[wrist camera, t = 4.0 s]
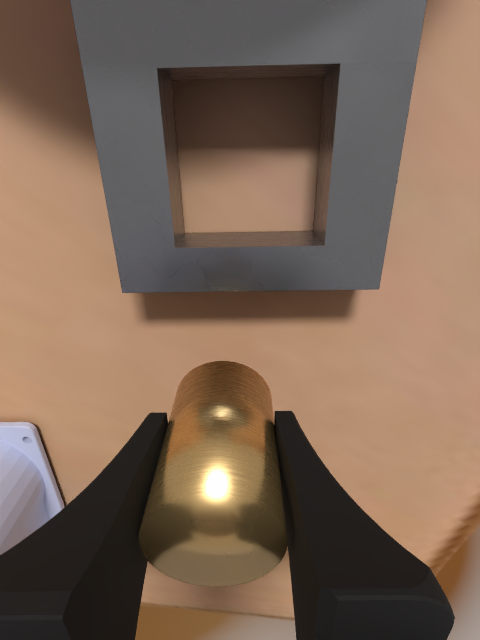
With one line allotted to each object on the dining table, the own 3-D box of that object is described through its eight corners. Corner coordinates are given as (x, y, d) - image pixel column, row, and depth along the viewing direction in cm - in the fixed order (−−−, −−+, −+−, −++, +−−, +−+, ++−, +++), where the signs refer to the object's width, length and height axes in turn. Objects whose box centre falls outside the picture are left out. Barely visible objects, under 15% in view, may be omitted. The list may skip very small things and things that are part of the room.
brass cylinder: (270, 437, 16) (284, 586, 11) (180, 437, 16) (148, 586, 11) (272, 360, 14) (290, 493, 9) (171, 361, 14) (127, 494, 9)
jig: (361, 269, 16) (379, 289, 14) (138, 272, 16) (122, 292, 14) (396, 12, 12) (429, -17, 10) (100, 20, 12) (68, -6, 10)
